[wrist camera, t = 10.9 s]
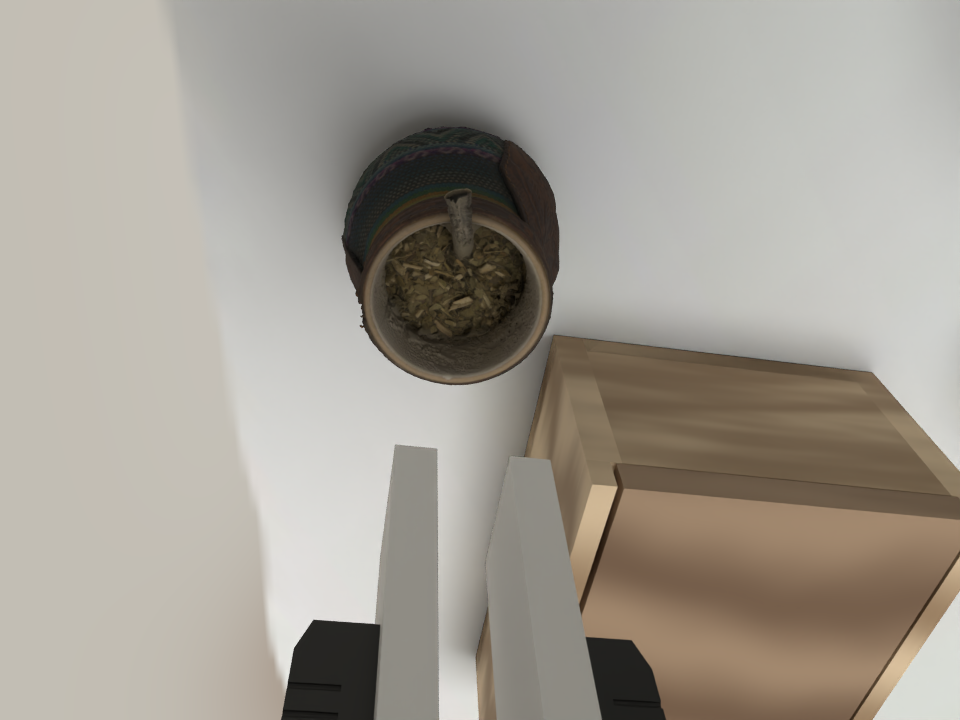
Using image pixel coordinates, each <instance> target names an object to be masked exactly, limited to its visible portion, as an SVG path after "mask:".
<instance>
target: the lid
mask: <svg viewBox="0 0 960 720" xmlns="http://www.w3.org/2000/svg"><path fill="white" fill-rule="evenodd" d="M614 476H615V480H616V483H617V486H618V487H617V490H616V493H615V496H614V499H613V502H612V506H611V509H610V512H609V515H608V518H607V521H606V524H605V527H604V530H603V533H602V536H601V539H600V542H599V545H598V548H597V551H596V554H595V557H594V561H593V564H592V567H591V570H590V573H589V576H588V579H587V582H586V585H585V588H584V591H583V594H582V597H581V600H580V603H579V607H580V612H581V617H582V622H583V627H584V632H585V637H595V638H610V639H624V640H632V641H633V643H634V644H635V645H636V647H637V648H638V650H639V651H640V653H641V654H642V655H643V657H644V658H645V660H646V661H647V663H648V664H649V665H650V667H651V668H652V670H653V674H654V677H655V681H656V685H657V688H658V692H659V696H660V699H661V708H663V710H664V714H665V718H666V720H850V718H851V716H852V715H853V713H854V712H855V710H856V709H857V707H858V706H859V704H860V703H861V701H862V700H863V698H864V697H865V695H866V694H867V692H868V690H869V689H870V687H871V686H872V684H873V683H874V681H875V680H876V678H877V677H878V675H879V674H880V672H881V671H882V669H883V667H884V666H885V664H886V663H887V661H888V660H889V658H890V657H891V655H892V654H893V652H894V651H895V649H896V648H897V646H898V644H899V643H900V641H901V640H902V638H903V637H904V635H905V634H906V632H907V631H908V629H909V628H910V626H911V625H912V623H913V622H914V620H915V618H916V617H917V615H918V614H919V612H920V611H921V609H922V608H923V606H924V605H925V603H926V602H927V600H928V599H929V597H930V595H931V594H932V592H933V591H934V589H935V588H936V586H937V585H938V583H939V582H940V580H941V579H942V577H943V576H944V574H945V572H946V571H947V569H948V568H949V566H950V565H951V563H952V562H953V560H954V559H955V557H956V556H957V554H958V553H959V551H960V499H959V498H958V497H952V496H941V495H931V494H921V493H911V492H901V491H891V490H880V489H870V488H860V487H850V486H840V485H830V484H819V483H809V482H799V481H789V480H779V479H768V478H758V477H748V476H738V475H728V474H718V473H707V472H697V471H687V470H677V469H667V468H657V467H646V466H636V465H626V464H616V467H615V470H614Z"/></svg>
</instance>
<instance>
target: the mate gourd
mask: <svg viewBox="0 0 960 720" xmlns="http://www.w3.org/2000/svg"><path fill="white" fill-rule="evenodd" d="M342 242H343V247H344V250H345V254H346V265H347V269H348V272H349V276H350V278H351V281H352V283H353V285H354V287H355V289H356V293H355V294H356V296H357V297H358V303H359V304H362V306H361V309H362V313H363V315H362V316H361V318H362V317H363V321H362V322H363V324H364V325H363V326H362V325H360V327H361V328H363V327H364V328H365V331H366V332H367V333H368V335H369V338H370V339H371V341H372V342H373V344H374V345H375V346H376V347H377V348H378V350H379V351H380V352H382V353H383V355H384V356H385V357H386V358H388V360H389V361H391V362H392V363H393V364H394V365H396V366H397V367H399V368H400V369H402V370H404V371H405V372H407V373H409V374H411V375H413V376H415V377H418V378H420V379H423V380H427V381H430V382H434V383H439V384H447V385H469V384H474V383H479V382H482V381H486V380H489V379H492V378H494V377H497V376H499V375H501V374H503V373H505V372H507V371H509V370H510V369H512V368H514V367H515V366H517V365H518V364H519V363H521V362H522V361H523V360H524V359H525V358H527V356H528V355H529V354H530V353H531V352H532V351H533V350H534V348H535V347H536V346H537V344H538V343H539V341H540V339H541V338H542V336H543V334H544V332H545V330H546V328H547V325H548V323H549V320H550V318H551V317H550V316H551V312H552V303H553V302H552V301H553V294H554V293H553V288H552V286H553V284H554V282H555V280H556V277H557V274H558V271H559V226H558V220H557V214H556V203H555V198H554V194H553V191H552V189H551V187H550V185H549V183H548V181H547V179H546V178H545V176H544V175H543V173H542V172H541V170H540V169H539V167H538V166H537V165H536V163H535V162H534V161H533V159H532V158H531V157H530V156H529V155H528V154H526V153H525V151H523V150H522V148H519V146H518V145H516V144H514V143H513V142H511V141H508V140H504V141H503V140H501V139H500V138H499V137H498V136H497V137H496V136H494V135H491V134H488V133H485V132H481V131H479V130H474V129H470V128H466V127H440V128H435V129H432V128H427V129H425V130H424V131H422V132H419V133H415V134H413V135H411V136H408V137H406V138H404V139H403V140H401V141H398V142H397V143H395V144H393V145H392V146H391V147H390V148H388V149H387V150H386V151H384V152H383V153H382V154H381V155H380V156H378V158H376V160H375V161H373V162H372V163H371V164H370V165H369V166H368V168H367V169H366V170H365V171H364V172H363V175H362V176H361V178H360V180H359V182H358V184H357V186H356V188H355V190H354V191H353V196H352V199H351V201H350V202H349V204H348V209H347V212H346V218H345V228H344V233H343V235H342Z"/></svg>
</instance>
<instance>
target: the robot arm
mask: <svg viewBox="0 0 960 720" xmlns="http://www.w3.org/2000/svg"><path fill="white" fill-rule="evenodd" d="M485 569H486V582H487V595H488V609H489V622H490V636H491V649H492V663H493V676H494V690H495V703H496V717H497V720H666V718H665V714H664V710H663V708H661V699H660V696H659V692H658V688H657V685H656V681H655V677H654V674H653V670H652V668H651V667H650V665H649V664H648V663H647V661H646V660H645V658H644V657H643V655H642V654H641V653H640V651H639V650H638V648H637V647H636V645H635V644H634V643H633V641H632V640H624V639H610V638H595V637H585V632H584V627H583V622H582V617H581V612H580V607H579V602H578V597H577V592H576V587H575V582H574V577H573V572H572V567H571V562H570V557H569V552H568V547H567V542H566V537H565V532H564V527H563V522H562V517H561V511H560V506H559V501H558V496H557V491H556V486H555V481H554V476H553V471H552V466H551V461H550V460H547V459H537V458H527V457H516V456H509V461H508V465H507V470H506V474H505V478H504V483H503V487H502V491H501V496H500V500H499V504H498V509H497V513H496V517H495V522H494V526H493V531H492V535H491V539H490V544H489V548H488V552H487V557H486V561H485ZM281 720H439V665H438V488H437V449H434V448H424V447H414V446H404V445H395V450H394V457H393V465H392V472H391V480H390V487H389V494H388V502H387V509H386V517H385V524H384V532H383V539H382V547H381V554H380V567H379V580H378V592H377V605H376V618H375V624H366V623H351V622H337V621H322V620H313V621H312V623H311V624H310V626H309V627H308V629H307V630H306V632H305V633H304V634H303V636H302V637H301V639H300V640H299V642H298V643H297V645H296V646H295V648H294V651H293V657H292V662H291V668H290V674H289V679H288V686H287V690H286V696H285V701H284V707H283V714H282V718H281Z"/></svg>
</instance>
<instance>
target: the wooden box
mask: <svg viewBox="0 0 960 720" xmlns="http://www.w3.org/2000/svg"><path fill="white" fill-rule="evenodd" d="M524 457H527V458H537V459H547V460H550V461H551V466H552V471H553V476H554V481H555V486H556V491H557V496H558V501H559V506H560V511H561V517H562V522H563V527H564V532H565V537H566V542H567V547H568V552H569V557H570V562H571V567H572V572H573V577H574V582H575V587H576V592H577V597H578V602H579V603H580V600H581V597H582V594H583V591H584V588H585V585H586V582H587V579H588V576H589V573H590V570H591V567H592V564H593V561H594V557H595V554H596V551H597V548H598V545H599V542H600V539H601V536H602V533H603V530H604V527H605V524H606V521H607V518H608V515H609V512H610V509H611V506H612V502H613V499H614V496H615V493H616V490H617V487H618V486H617V483H616V480H615V476H614V470H615V467H616V464H626V465H636V466H646V467H657V468H667V469H677V470H687V471H697V472H707V473H718V474H728V475H738V476H748V477H758V478H768V479H779V480H789V481H799V482H809V483H819V484H830V485H840V486H850V487H860V488H870V489H880V490H891V491H901V492H911V493H921V494H931V495H941V496H952V497H958V498H959V499H960V471H959V470H958V469H957V468H956V467H955V466H954V465H953V463H952V462H951V461H950V460H949V459H948V458H947V457H946V455H945V454H944V453H943V452H942V451H941V450H940V449H939V448H938V446H937V445H936V444H935V443H934V442H933V441H932V440H931V438H930V437H929V436H928V435H927V434H926V433H925V432H924V430H923V429H922V428H921V427H920V426H919V425H918V424H917V423H916V421H915V420H914V419H913V418H912V417H911V416H910V415H909V413H908V412H907V411H906V410H905V409H904V408H903V407H902V406H901V404H900V403H899V402H898V401H897V400H896V399H895V398H894V396H893V395H892V394H891V393H890V392H889V391H888V390H887V388H886V387H885V386H884V385H883V384H882V383H881V382H880V381H879V379H878V378H877V377H876V376H875V375H874V374H873V373H870V372H862V371H853V370H845V369H836V368H828V367H820V366H811V365H803V364H794V363H786V362H777V361H769V360H760V359H752V358H743V357H735V356H727V355H718V354H710V353H701V352H693V351H684V350H676V349H667V348H659V347H651V346H642V345H634V344H625V343H617V342H608V341H600V340H591V339H583V338H574V337H566V336H558V335H554V336H553V340H552V344H551V348H550V352H549V356H548V360H547V364H546V369H545V373H544V377H543V381H542V385H541V389H540V393H539V398H538V402H537V406H536V410H535V414H534V418H533V422H532V427H531V431H530V435H529V439H528V443H527V447H526V451H525V455H524ZM959 591H960V551H959V553H958V554H957V556H956V557H955V559H954V560H953V562H952V563H951V565H950V566H949V568H948V569H947V571H946V572H945V574H944V576H943V577H942V579H941V580H940V582H939V583H938V585H937V586H936V588H935V589H934V591H933V592H932V594H931V595H930V597H929V599H928V600H927V602H926V603H925V605H924V606H923V608H922V609H921V611H920V612H919V614H918V615H917V617H916V618H915V620H914V622H913V623H912V625H911V626H910V628H909V629H908V631H907V632H906V634H905V635H904V637H903V638H902V640H901V641H900V643H899V644H898V646H897V648H896V649H895V651H894V652H893V654H892V655H891V657H890V658H889V660H888V661H887V663H886V664H885V666H884V667H883V669H882V671H881V672H880V674H879V675H878V677H877V678H876V680H875V681H874V683H873V684H872V686H871V687H870V689H869V690H868V692H867V694H866V695H865V697H864V698H863V700H862V701H861V703H860V704H859V706H858V707H857V709H856V710H855V712H854V713H853V715H852V716H851V718H850V720H872V719H873V718H874V717H875V715H876V714H877V712H878V711H879V709H880V708H881V706H882V705H883V703H884V702H885V700H886V699H887V697H888V696H889V694H890V693H891V691H892V690H893V688H894V687H895V686H896V684H897V683H898V681H899V680H900V678H901V677H902V675H903V674H904V672H905V671H906V669H907V668H908V666H909V665H910V663H911V662H912V660H913V659H914V657H915V656H916V655H917V653H918V652H919V650H920V649H921V647H922V646H923V644H924V643H925V641H926V640H927V638H928V637H929V635H930V634H931V632H932V631H933V629H934V628H935V626H936V625H937V623H938V622H939V621H940V619H941V618H942V616H943V615H944V613H945V612H946V610H947V609H948V607H949V606H950V604H951V603H952V601H953V600H954V598H955V597H956V595H957V594H958V592H959ZM476 672H477V691H478V709H479V720H497V717H496V703H495V690H494V676H493V663H492V649H491V636H490V622H489V609H488V608H487V613H486V617H485V621H484V625H483V629H482V633H481V637H480V642H479V646H478V650H477V654H476Z"/></svg>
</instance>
